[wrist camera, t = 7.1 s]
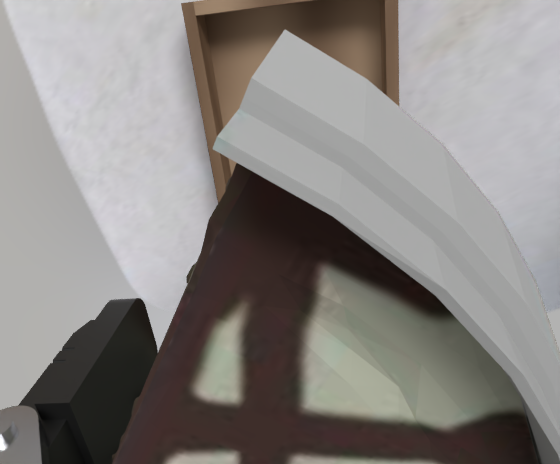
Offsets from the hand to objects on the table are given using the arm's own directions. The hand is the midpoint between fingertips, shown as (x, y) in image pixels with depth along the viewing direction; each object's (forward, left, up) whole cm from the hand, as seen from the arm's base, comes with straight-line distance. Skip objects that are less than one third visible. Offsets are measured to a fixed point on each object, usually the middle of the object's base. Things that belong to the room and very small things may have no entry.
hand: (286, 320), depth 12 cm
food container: (-1, 0, -3) cm, 3 cm away
